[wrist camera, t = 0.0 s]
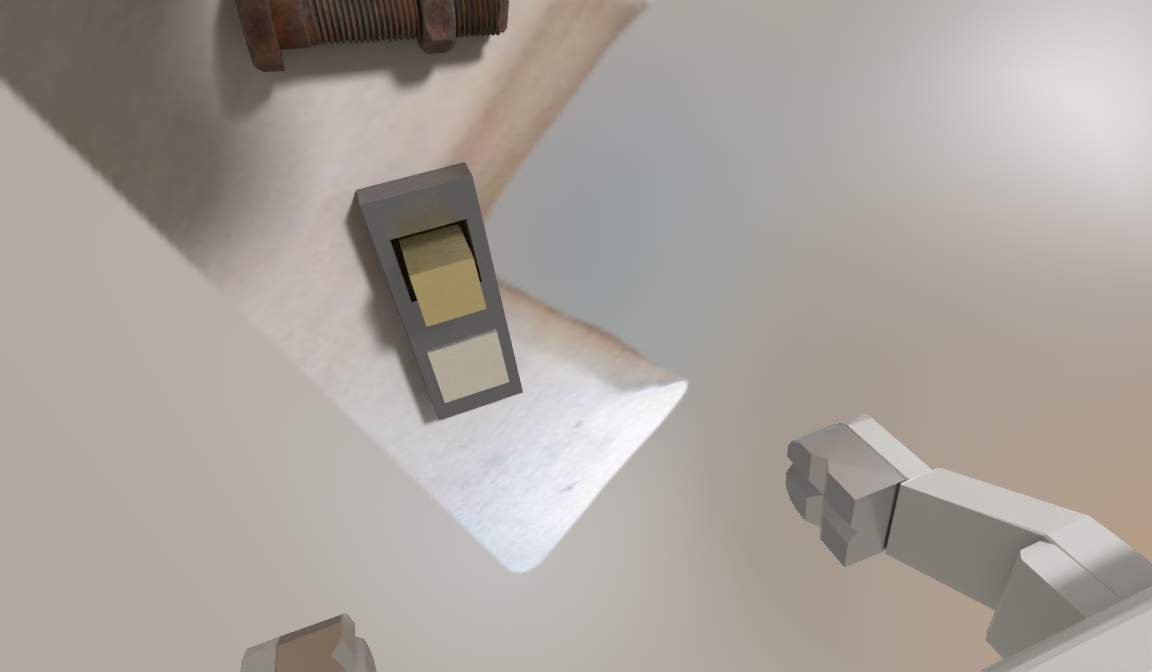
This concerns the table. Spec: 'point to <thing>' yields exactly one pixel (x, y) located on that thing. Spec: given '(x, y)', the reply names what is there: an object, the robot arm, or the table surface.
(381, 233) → the plate
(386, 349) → the table surface
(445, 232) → the tan block
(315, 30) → the bolt
